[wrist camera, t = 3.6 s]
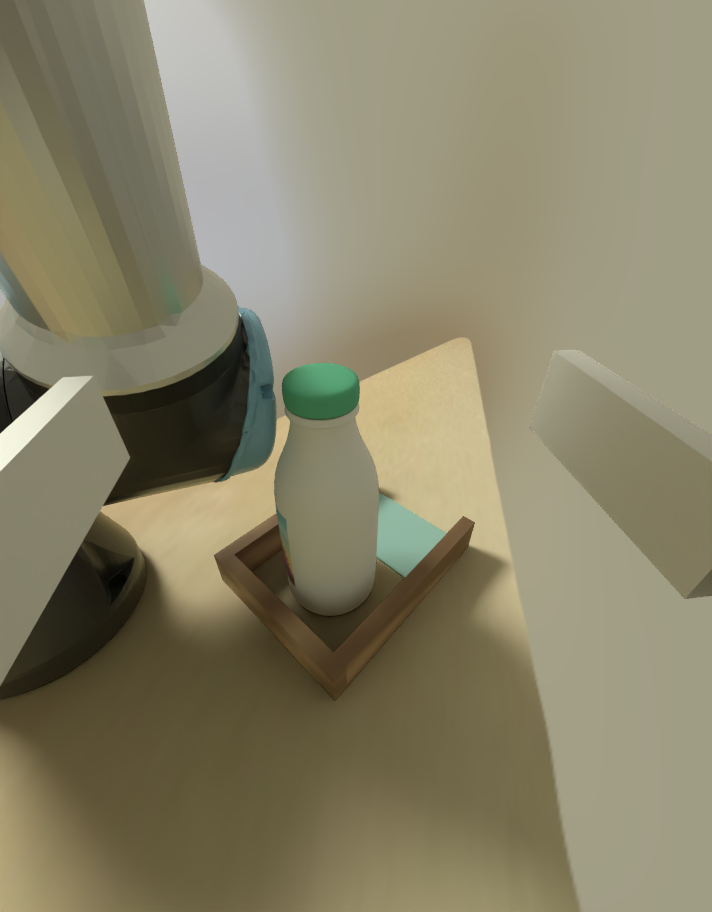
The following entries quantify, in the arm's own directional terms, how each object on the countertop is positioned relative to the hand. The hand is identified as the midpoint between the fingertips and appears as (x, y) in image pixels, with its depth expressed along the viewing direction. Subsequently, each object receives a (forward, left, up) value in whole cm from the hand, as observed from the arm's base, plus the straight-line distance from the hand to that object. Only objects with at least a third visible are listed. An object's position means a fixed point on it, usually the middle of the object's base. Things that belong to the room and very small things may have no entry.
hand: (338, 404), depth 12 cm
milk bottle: (-8, +7, -24) cm, 27 cm away
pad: (-8, +15, -24) cm, 29 cm away
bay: (-8, +10, -24) cm, 27 cm away
